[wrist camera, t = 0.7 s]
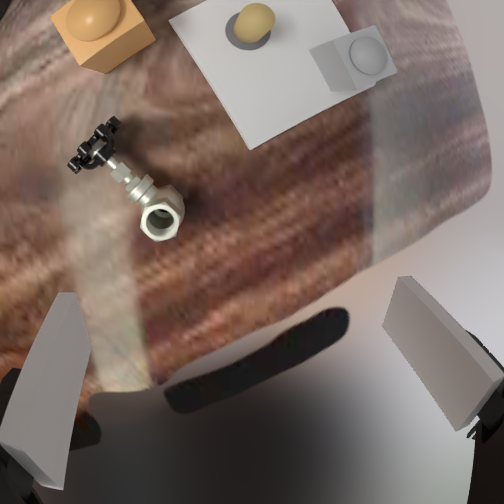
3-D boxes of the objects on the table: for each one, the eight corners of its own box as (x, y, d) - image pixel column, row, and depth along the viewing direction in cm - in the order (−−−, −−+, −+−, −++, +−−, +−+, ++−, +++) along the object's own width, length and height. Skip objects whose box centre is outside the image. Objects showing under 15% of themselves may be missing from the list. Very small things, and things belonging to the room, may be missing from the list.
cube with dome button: (308, 49, 27) (334, 38, 21) (346, 34, 27) (378, 23, 21) (330, 91, 29) (360, 90, 24) (367, 74, 29) (401, 71, 23)
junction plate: (169, 22, 25) (163, 5, 19) (304, -34, 23) (324, -55, 18) (248, 148, 32) (259, 158, 27) (371, 85, 30) (401, 84, 25)
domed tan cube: (80, 33, 23) (46, 14, 15) (129, 0, 22) (109, -31, 15) (106, 74, 26) (76, 64, 18) (156, 40, 25) (143, 17, 17)
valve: (201, 192, 33) (121, 114, 28) (203, 212, 27) (104, 116, 22) (159, 234, 34) (80, 161, 29) (152, 262, 28) (57, 175, 23)
